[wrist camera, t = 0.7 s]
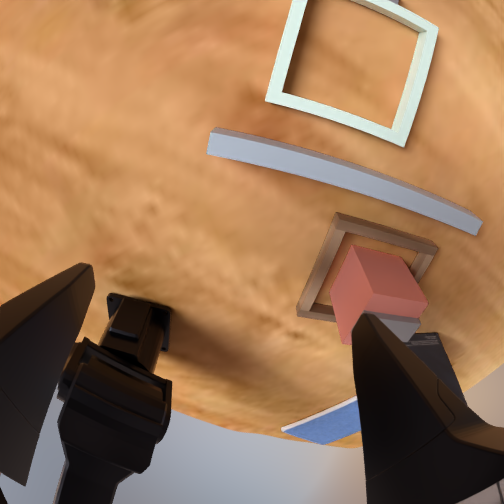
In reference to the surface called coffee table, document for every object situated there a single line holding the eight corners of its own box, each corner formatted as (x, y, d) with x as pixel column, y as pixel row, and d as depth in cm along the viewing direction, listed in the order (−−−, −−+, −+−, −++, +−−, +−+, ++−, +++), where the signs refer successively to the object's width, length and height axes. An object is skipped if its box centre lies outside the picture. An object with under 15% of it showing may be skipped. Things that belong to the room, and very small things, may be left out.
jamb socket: (384, 320, 27) (387, 329, 26) (296, 306, 26) (297, 316, 25) (432, 241, 22) (438, 248, 21) (336, 212, 21) (339, 219, 20)
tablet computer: (388, 374, 34) (390, 381, 33) (417, 397, 38) (419, 404, 37) (278, 424, 41) (278, 431, 40) (322, 440, 46) (322, 446, 45)
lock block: (376, 300, 26) (397, 354, 20) (328, 291, 25) (343, 350, 20) (400, 256, 23) (432, 308, 18) (351, 244, 23) (376, 299, 17)
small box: (393, 332, 28) (422, 415, 20) (438, 330, 29) (471, 403, 20) (361, 385, 34) (376, 456, 25) (402, 382, 34) (421, 447, 25)
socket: (396, 143, 18) (403, 147, 17) (264, 100, 17) (265, 101, 16) (433, 16, 12) (441, 15, 11) (304, -39, 11) (306, -45, 10)
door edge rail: (464, 224, 21) (475, 235, 20) (211, 147, 19) (206, 154, 17) (470, 211, 20) (482, 221, 19) (215, 127, 18) (210, 132, 17)
